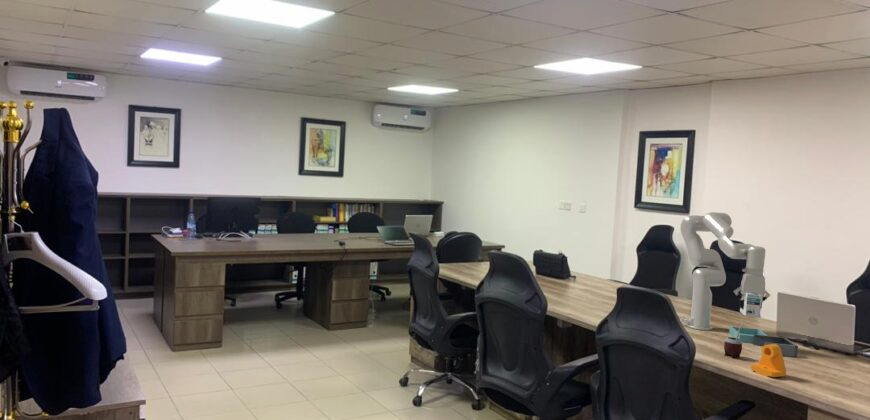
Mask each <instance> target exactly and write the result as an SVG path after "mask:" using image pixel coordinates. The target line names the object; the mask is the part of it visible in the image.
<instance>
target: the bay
mask: <svg viewBox="0 0 870 420" xmlns="http://www.w3.org/2000/svg"><path fill="white" fill-rule="evenodd" d="M767 335H768V334H766V335H757V334H754V339H753V343H752V345H753V346H758V347H760V346H761V347H763V346H764V345H771V344H776V345H778V346H779V347H780V348H781V351H782V355H783V357H790V358H791V357H794V358H798V351H799V345H797V344H796V343H795V342H792V341H791V340H790V339H788V338H787V337H785V336H777V335H775V336H774V335H768V336H767Z"/></svg>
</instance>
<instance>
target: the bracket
mask: <svg viewBox="0 0 870 420" xmlns="http://www.w3.org/2000/svg"><path fill="white" fill-rule="evenodd" d="M761 354H762V356H761V358H760V359H759V361H758V363H751V364H750V370H751V371H754V373H755V374H758V375H760V376H763V377H765V378H778V377H786V376H787V369H786V365H785V360H784V356H783V355H782V351H781V348H780V347H779V346H778V345H776V344H771V345H764V346H761Z"/></svg>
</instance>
